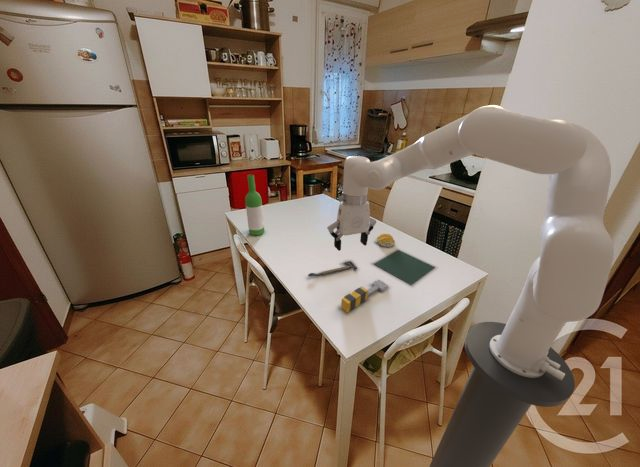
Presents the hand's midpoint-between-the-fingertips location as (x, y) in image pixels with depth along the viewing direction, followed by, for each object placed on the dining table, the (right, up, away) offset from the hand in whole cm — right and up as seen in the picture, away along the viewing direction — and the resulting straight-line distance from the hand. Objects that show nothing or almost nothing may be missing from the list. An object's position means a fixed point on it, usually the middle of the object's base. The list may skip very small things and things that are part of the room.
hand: (350, 246), depth 89 cm
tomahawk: (-6, -11, +18) cm, 22 cm away
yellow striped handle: (+6, -18, +5) cm, 20 cm away
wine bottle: (-43, +5, +47) cm, 64 cm away
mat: (+25, -9, +22) cm, 35 cm away
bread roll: (+22, 0, +39) cm, 45 cm away
